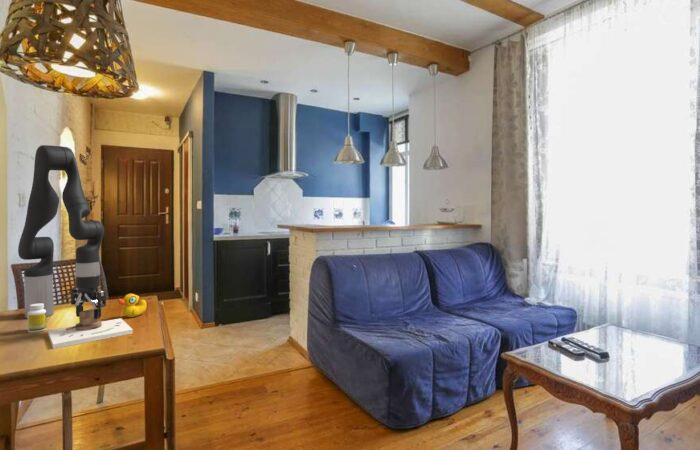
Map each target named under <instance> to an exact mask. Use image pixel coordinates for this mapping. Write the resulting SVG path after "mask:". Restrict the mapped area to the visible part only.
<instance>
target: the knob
mask: <svg viewBox="0 0 700 450" xmlns="http://www.w3.org/2000/svg"><path fill="white" fill-rule="evenodd" d="M78 318H79V322H78V323H76V324H75V325H72V326H73V327H72V326H69V327H70V328H66V327H65V328H66V330H71V329H73V328H75V329H76V330H90V329H95V328H98V327H100V326H101V325H102V321H103V320H99V319H94V307H93V308H89V309H86V310H83V311H81V312H79V317H78Z"/></svg>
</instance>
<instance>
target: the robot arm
mask: <svg viewBox="0 0 700 450" xmlns="http://www.w3.org/2000/svg"><path fill="white" fill-rule="evenodd" d="M33 166H34V167H33V168H34V170H33V178H32V179H33V180H32V184H31V185H32V186H31V189H30V190H31V191H30V195H29V198H28V204H27V209H26V217H25V222H24V226H23V230H22V232H21V236H20V239H19V243H18V246H17V253H18V256H19V258H20V259H22V260H24V261H26V260H27V261H28V260H29V261H30V260H39V262H37V263H36V264H35V265H32V266H30V267H26V269H24V270H23V271H24V272H23V281H24V282H23V283H24V285H23V286H24V287H23V289H24V290H23V291H24V318H26V319H28V316H27V315H28V312H29V311H31V309H30V305H32V304H37V303H43V304H44V308H43V309H45V310H46V318H47V317H49V316H52V315H54V281H53V280H54V279H53V278H54V276H53V274H54V273H53V271H54V251H55V250H54V241H53V238H51V237H50V236H37V234H38V233H39V232H40V231H41V230H42V229H43V228H44V227H46V226H47V225H48V224H49V223H51V221H52V220H53V219H54V218H55V217H56V215H57V213H58V209H59V205H60V197H59V195H58V193H57V191H56V190H55V189H54V187H53V185H52V184H51V183H50V180H49V179H50V178H49V174H50V171H64V172H65V173H66V183H65V184H64V185H65V186H64V188H63V191H62V193H61V195H62V196H61V198H62V202H63V205H64V207H65V210H66V213H67V215H68V216H67V217H68V233H69V234H70V236H71V238H72V239H74V240H76V241H84V240H85V241H86V240H87V242H86V243H85V244H84V245H81V246H78V247H77V248H76V250H75V273H74V275H75V276H74V277H75V278H74V279H75V288H72V289H71V290H70V292H71V293H70V304H71V305H72V306H73V305H74V308H75V314H76V317H78V318H79V312H81V311H84V304H85V302H87V303H89V305H90V306H91V305H92V307H93V308H94V319H98V320H99V319H101V317H102V308H104V307H106V306H107V302H106V301H107V298H106V295H107V294H106V291H105V290H99V287H100V286H101V265H100V250H101V246H102V241H103V239H104V235H105V227H104V225H103V223H102V222H101V221H99V220H94V219H93V220H90V219H89V220H83V219H84V218H87V217H88V216H90V215H91V213H92V211H91V207H90V204H89V202H88V200H87V197H86V196H85V195H86V194H85V192H84V190H83V186H82V185H83V184H82V181H81V177H80V171H79V168H78V163H77V160H76V155H75V153H74V152H73V150H72V149H71V148H70V147H68V146H61V145H50V144H49V145H48V144H43V145H41V144H40V145H39V146H38V147H37V149H36V150H35V156H34V165H33Z"/></svg>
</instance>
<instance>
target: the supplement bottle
mask: <svg viewBox="0 0 700 450" xmlns="http://www.w3.org/2000/svg"><path fill="white" fill-rule="evenodd" d="M43 308H44V304H43V303H37V304H32V305H30V309H31V311H29V312H28V315H27V316H28V318H27V332H28V333H39V332H43V331H46V330H47V317H46V310H45V309H43Z"/></svg>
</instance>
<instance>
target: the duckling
mask: <svg viewBox="0 0 700 450" xmlns="http://www.w3.org/2000/svg"><path fill="white" fill-rule="evenodd" d="M139 299H140V296H139V295H137V294H134V293H127V294H125V296H124V297H123V299H121V298H118V299H117V302H118V303H119V305H122V306H123V305H124V307H123V308H122V314H123V315H124V316H126V317H128V318H134V317H138V316H140V315H142V314H143V313H145V311H146V310H147V301H146V300H145V299H140V300H139Z"/></svg>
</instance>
